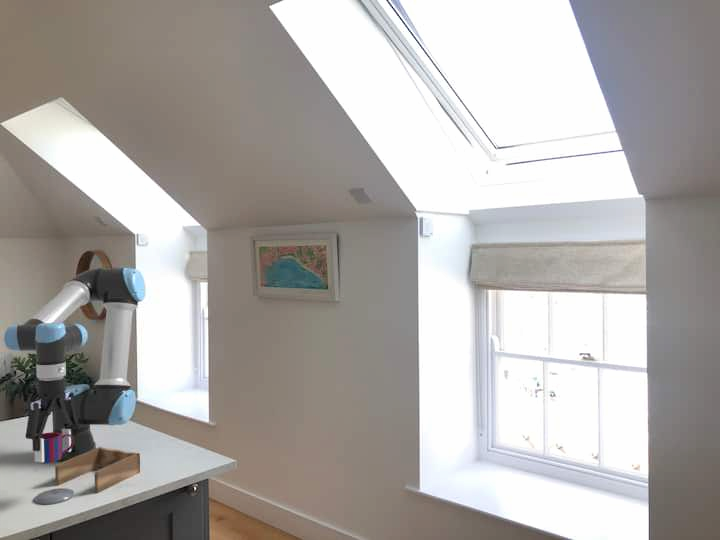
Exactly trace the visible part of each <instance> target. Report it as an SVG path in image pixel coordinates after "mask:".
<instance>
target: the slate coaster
mask: <svg viewBox="0 0 720 540" xmlns="http://www.w3.org/2000/svg"><path fill="white" fill-rule="evenodd" d="M74 495H75V492H74V490H73V489H71V488H64V487H63V488H61V487H59V488H52V489H48V490H45V491H43V492H40V493H38V494H37V495H36V496H35V497H34V502H35V503H36V504H38V505H55V504H60V503H64V502H67V501H68V500H70V499H72V498H73V497H74Z"/></svg>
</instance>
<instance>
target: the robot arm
mask: <svg viewBox="0 0 720 540" xmlns="http://www.w3.org/2000/svg"><path fill="white" fill-rule="evenodd" d="M145 297H146V282H145V277H144V276H143V274H142V272H141V271H140V270H138V269H136V268H130V267H128V268H127V267H112V268H111V267H106V268H103V267H102V268H101V267H96V268H92V269H88V270H85V271H83V272H80V273H78V274H77V275H75V276H74V277H72V278H71V279H69V280H68V281H66V282H65V284H64V285H63V287H62V289H61V291H60V292H58V294H56V295H55V296H54V297H53V298H52V299H51V300H50V301H48V303H46V304H45V305H44V306H43V307H42V308H41V309H39V310H38V311H37V312H35V314H33V315H32V316H31V317H30V318H29V319H28V320H27V321H26V322H24V323H23V324H12V325H10V326H8V327H7V328H6V329H5V331H4V338H3V341H4V345H5V347H6V348H7V349H8V350H11V351H20V352H23V351H29V352H30V351H35V355H36V357H35V358H36V360H35V361H36V364H35V365H36V378H37V380H36V392H37V394H38V398H37V400H36V401H30V402H29V403H28V409H29V412H28V417H27V418H28V419H27V424H26V432H25V438H26V440H27V439H29V440H32V451H33V452H34V462H35V463H37V462H41V463H40V464H44V463H43V462H44V439H42V438H41V437H42V434H44V431H45V428H46V425H47V421H48V418H49V416H50V415H52V418H51V419H52V432H56V433H60V434H61V436H63V435H65V434H70V435H72V437H73V440H74V442H73V446H72V448H71V449H70V450H69V451H67V452H66V453H63V454H62V458H61V459H60V460H58V461H57V462H64V461H67V460H69V459H72V458H74V457H76V456H79V455H81V454H84V453H86V452H89V451H91V450H94V449H96V448H97V444H96V442H95V440H94V436H93V434H92V431H91V426H97V425H98V426H123V425H125V424H127V423H128V422H129V421H130V420H131V417H132V416H133V414H134V411H135V408H136V403H137V398H136V392H135V391H134V390H132V389H131V384H130V383H129V381H128V380H127V377H128V375H127V374H128V368H129V366H128V365H129V356H130V343H131V334H132V324H133V323H132V322H133V314H134V313H133V312H134V311H136V309H138V307H139V303H140V302H142V301H143V300H144V299H145ZM96 301H97V302H102V307H104V308H105V310H106V315H105V322H104V323H105V324H104V334H103V336H104V337H103V345H102V355H101V362H100V363H101V364H100V372H99V375H100V376H99V379H98V381H96V382H95V383H94V384H93V385H94V386H93V389H90V388H91V386H90V385H89V384H86V383H85V384H84V383H81V384H75V385H69V386H67V377H66V375H67V363H66V361H67V360H66V357H67V356H66V354H67V353H69V352H71V351H75V350H78V349H79V348H81V347H84V346H85V344H86V343H87V342H88V336H89V335H88V331H87V329H86V328H85V327H84V326H83V325H81V324H79V323H73V324H72V323H70V324H67V325H65V323H64V322H65V321H66V319H68V318H69V316H71V315H72V314H73V313H74V312H75V311H76V310H77V309H78V308H79V307H82V306H85V305H86V304H88V303H90V302H96ZM71 441H72V440H71V437H70V436H65V437H64V438H63V439H62V440H61V449H62V451H64V450H66V449H68V448H69V447H70V445H71Z"/></svg>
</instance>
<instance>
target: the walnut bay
mask: <svg viewBox="0 0 720 540" xmlns="http://www.w3.org/2000/svg"><path fill="white" fill-rule="evenodd" d="M103 467H104V468H103ZM96 468H97V469H98V468H101V469H98V470H96ZM54 469H55V470H54V473H55V476H54V477H55V479H54V480H55V485H56V486H60V485H62V484H65V483H66V482H69V481H72V480H74V479H76V478H78V477H81V476H83V475H86V474H87V472H88V473H89V472H92V471H94V472H93V473H94V475H93V476H94V493H96V494H98V493H101V492H102V491H103V492H104V491H105V490H106V489H108V488H111V487H113V486H114V485H117V484H119V483H121V482H123V481H125V480H127V479H129V478H131V477H134V476H136V475H137V474H140V473H141V453H139V452H133V451H126V450H120V449H113V448H106V447H101V446H99V447H96V449H94V450H91V451H89V452H86V453H84V454H81V455H79V456H76V457H74V458H72V459H69V460H67V461H61V462H59V463H57V464H55V467H54ZM95 470H96V471H95ZM80 475H81V476H80Z"/></svg>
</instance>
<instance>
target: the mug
mask: <svg viewBox="0 0 720 540" xmlns="http://www.w3.org/2000/svg"><path fill="white" fill-rule="evenodd" d="M65 436H70V437H71V440H72V441H71V445H70V447H69V448H68V449H66V450H64V451H62V449H61V440H62V439H63V438H64V437H65ZM41 438H42V439H44V462H43V463H41V462H36V463H37V464H51V463H55V462H59V461H58V460H60V459H61V458H62V454H63V453H66V452H67V451H69V450H70V449H71V448H72V446H73V442H74V440H73V437H72V435H70V434H65V435H63V436H61V434H60V433H56V432H53V431H52V432H43V434H42V437H41Z"/></svg>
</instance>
